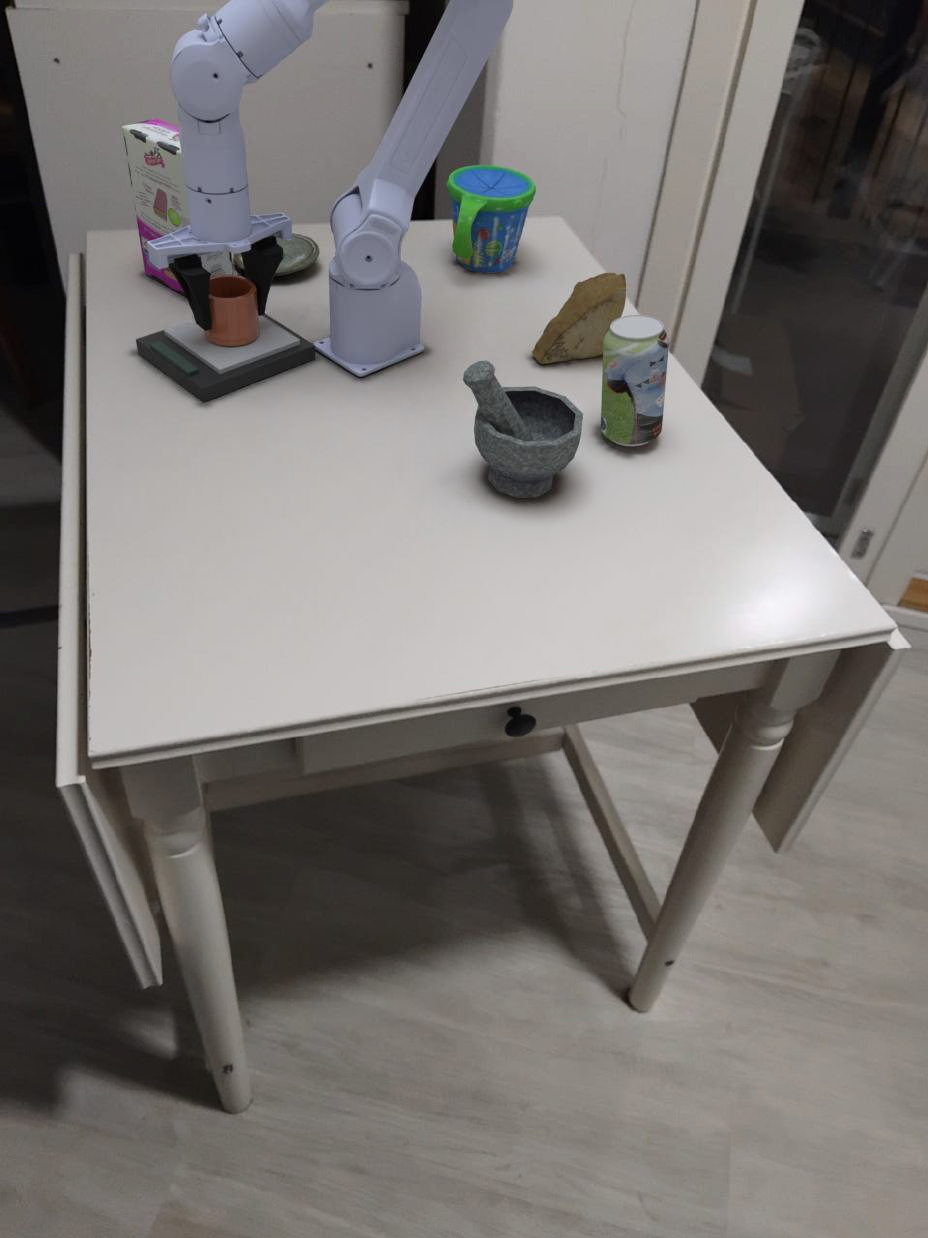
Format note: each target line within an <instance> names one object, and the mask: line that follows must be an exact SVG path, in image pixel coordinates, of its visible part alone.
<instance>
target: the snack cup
mask: <svg viewBox="0 0 928 1238" xmlns="http://www.w3.org/2000/svg"><path fill="white" fill-rule="evenodd" d="M446 189H447V193H448V194H449V197H450V200H451V204H450V205H451V219H452V232H453V240H452V245H451V246H452V247H451V248H452V252H453V254H454V255H455V261H456V262H458V263H460V264H461V265H462V267H464V268H465V269H467V270H470V271H471V272H474V273H475V272H476V273H483V274H495V273H503V272H505V271H506V270H508V269H510V268H511V266H512V265H513V264H514V262H515V260H516V256H517V252H518V249H519V248H518V247H519V245H520V240H521V238H522V235H523V231H524V227H525V223H526V219H527V216H528V212H529V209H530V208H529V207H530V206H531V204H532V202H533V201H534V199H535V195H536V193H537V186H536V184H535V182H534V181H533V179H532V178H530V177H529V176H528V175H527V174H525V173H523V172H520V171H518V170H515V169H512V168H510V167H509V168H508V167H505V166H499V165H489V164H477V165H476V164H475V165H467V166H464V167H460V168H457V169H455V170H454V171H452V172H451V173H450V174H449V177H448V180H447V182H446Z"/></svg>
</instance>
